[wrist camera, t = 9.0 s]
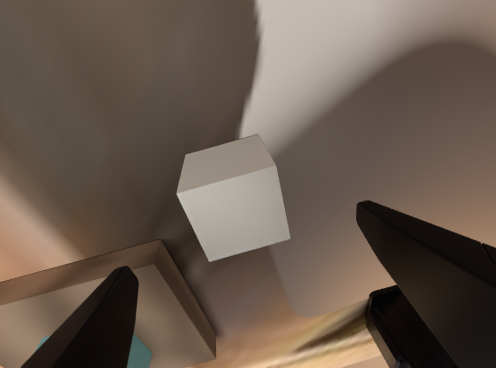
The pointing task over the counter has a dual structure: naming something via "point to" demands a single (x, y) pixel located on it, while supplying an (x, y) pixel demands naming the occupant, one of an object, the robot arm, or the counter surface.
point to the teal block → (138, 353)
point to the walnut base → (84, 283)
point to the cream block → (233, 198)
